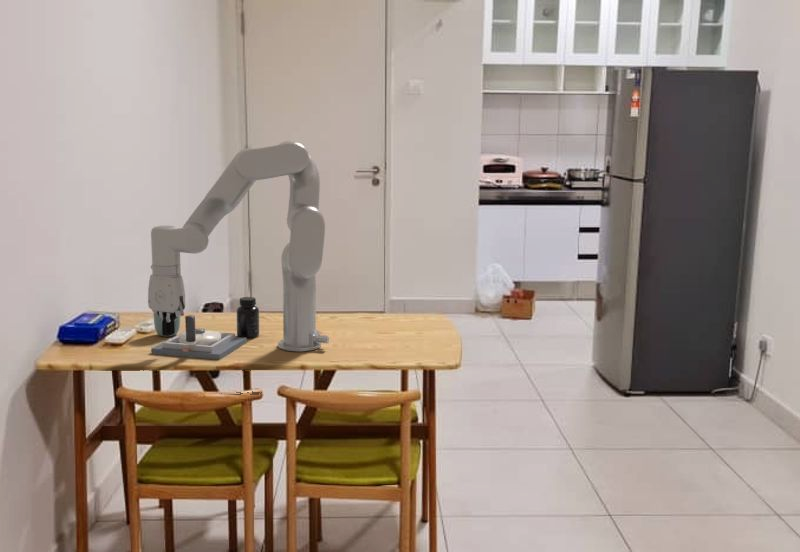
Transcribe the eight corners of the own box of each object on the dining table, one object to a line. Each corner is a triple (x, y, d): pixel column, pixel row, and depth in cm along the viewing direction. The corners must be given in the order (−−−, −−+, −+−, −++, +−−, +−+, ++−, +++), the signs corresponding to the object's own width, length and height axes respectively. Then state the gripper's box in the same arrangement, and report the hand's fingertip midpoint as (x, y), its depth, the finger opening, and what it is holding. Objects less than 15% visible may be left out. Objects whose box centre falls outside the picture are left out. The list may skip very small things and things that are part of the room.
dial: (185, 336, 233) (184, 303, 231) (225, 337, 233) (224, 304, 231) (168, 351, 217) (167, 317, 215) (211, 352, 217) (210, 318, 215)
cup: (184, 332, 244) (183, 301, 242) (175, 339, 236) (173, 307, 234) (160, 331, 245) (159, 300, 243) (150, 337, 237) (149, 305, 235)
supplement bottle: (232, 337, 240) (231, 299, 237) (246, 332, 246) (245, 295, 243) (250, 340, 237) (249, 301, 234) (263, 335, 242) (263, 297, 240)
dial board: (246, 342, 234) (246, 333, 233) (219, 359, 217) (219, 349, 216) (182, 337, 238) (182, 327, 238) (151, 353, 221) (151, 343, 220)
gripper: (136, 269, 216) (138, 333, 219) (177, 275, 209) (179, 341, 213) (156, 265, 223) (158, 328, 226) (196, 271, 216) (198, 335, 219)
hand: (168, 334), depth 219 cm, fingers closed
